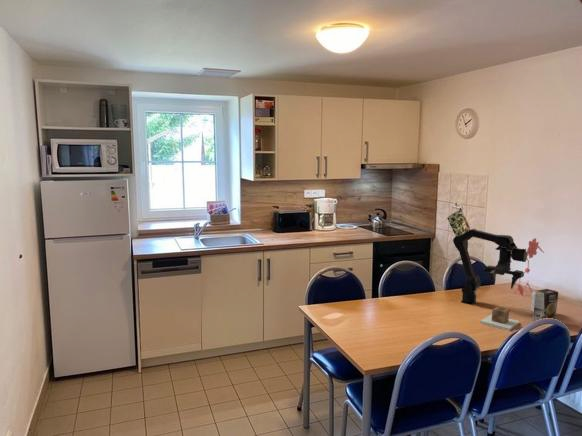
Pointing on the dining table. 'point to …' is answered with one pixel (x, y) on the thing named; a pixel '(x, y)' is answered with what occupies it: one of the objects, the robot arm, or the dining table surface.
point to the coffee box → (545, 304)
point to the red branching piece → (531, 252)
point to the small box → (533, 301)
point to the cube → (500, 315)
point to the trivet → (506, 326)
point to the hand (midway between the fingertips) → (502, 286)
